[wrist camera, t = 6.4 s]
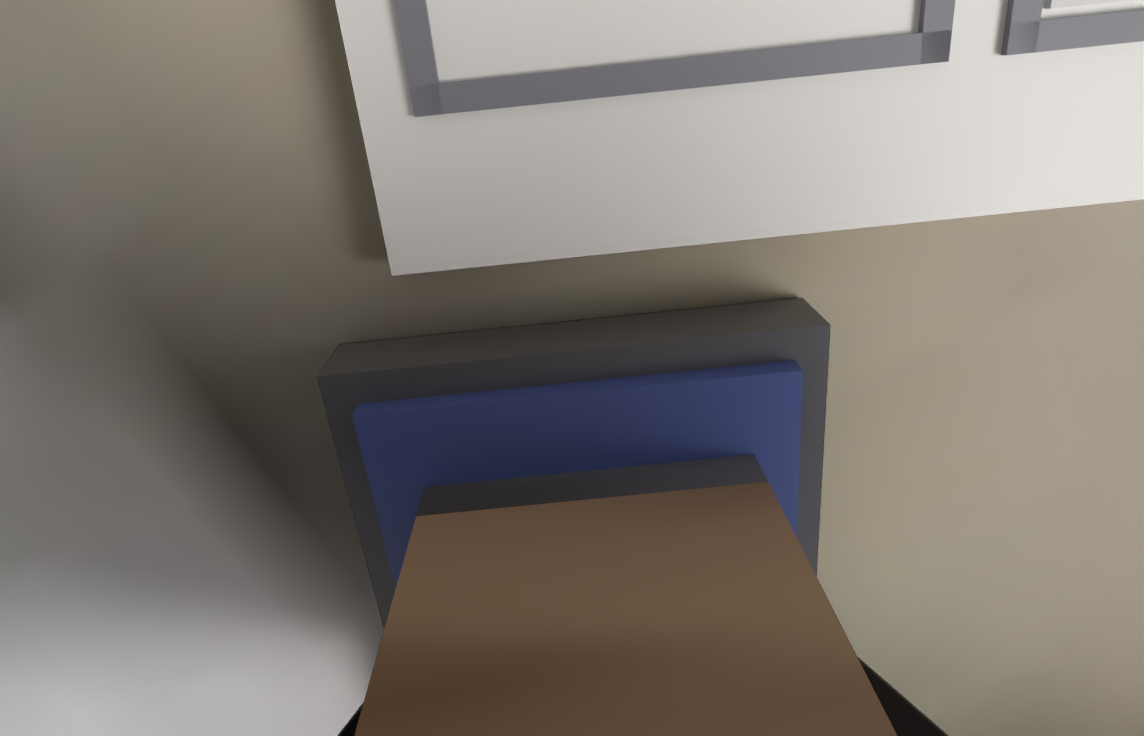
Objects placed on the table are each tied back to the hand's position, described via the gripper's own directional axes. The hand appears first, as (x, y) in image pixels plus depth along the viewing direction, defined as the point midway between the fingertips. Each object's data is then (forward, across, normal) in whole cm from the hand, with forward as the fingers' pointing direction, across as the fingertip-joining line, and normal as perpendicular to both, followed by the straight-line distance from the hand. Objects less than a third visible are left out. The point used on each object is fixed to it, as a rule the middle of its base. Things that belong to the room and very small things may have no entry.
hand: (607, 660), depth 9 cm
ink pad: (+2, 0, 0) cm, 2 cm away
